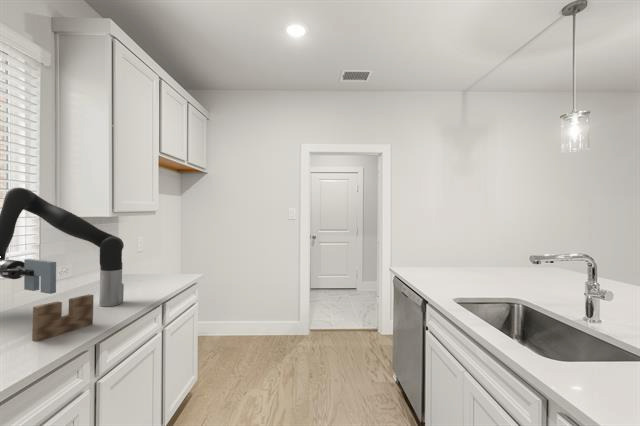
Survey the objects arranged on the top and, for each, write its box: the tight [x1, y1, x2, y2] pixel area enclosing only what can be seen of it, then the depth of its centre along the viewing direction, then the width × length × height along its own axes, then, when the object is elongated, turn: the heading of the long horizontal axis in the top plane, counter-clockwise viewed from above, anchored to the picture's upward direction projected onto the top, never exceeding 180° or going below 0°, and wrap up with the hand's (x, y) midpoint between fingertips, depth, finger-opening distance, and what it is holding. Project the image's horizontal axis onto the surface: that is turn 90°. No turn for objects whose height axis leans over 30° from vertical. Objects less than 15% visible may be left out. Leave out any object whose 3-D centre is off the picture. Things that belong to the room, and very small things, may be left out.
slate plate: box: [23, 258, 57, 295], centre depth 131 cm, size 2×16×12 cm, turn 69°
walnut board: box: [31, 293, 95, 342], centre depth 127 cm, size 20×2×12 cm, turn 159°
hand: (36, 272), depth 132 cm, fingers closed on slate plate, 2 cm apart
